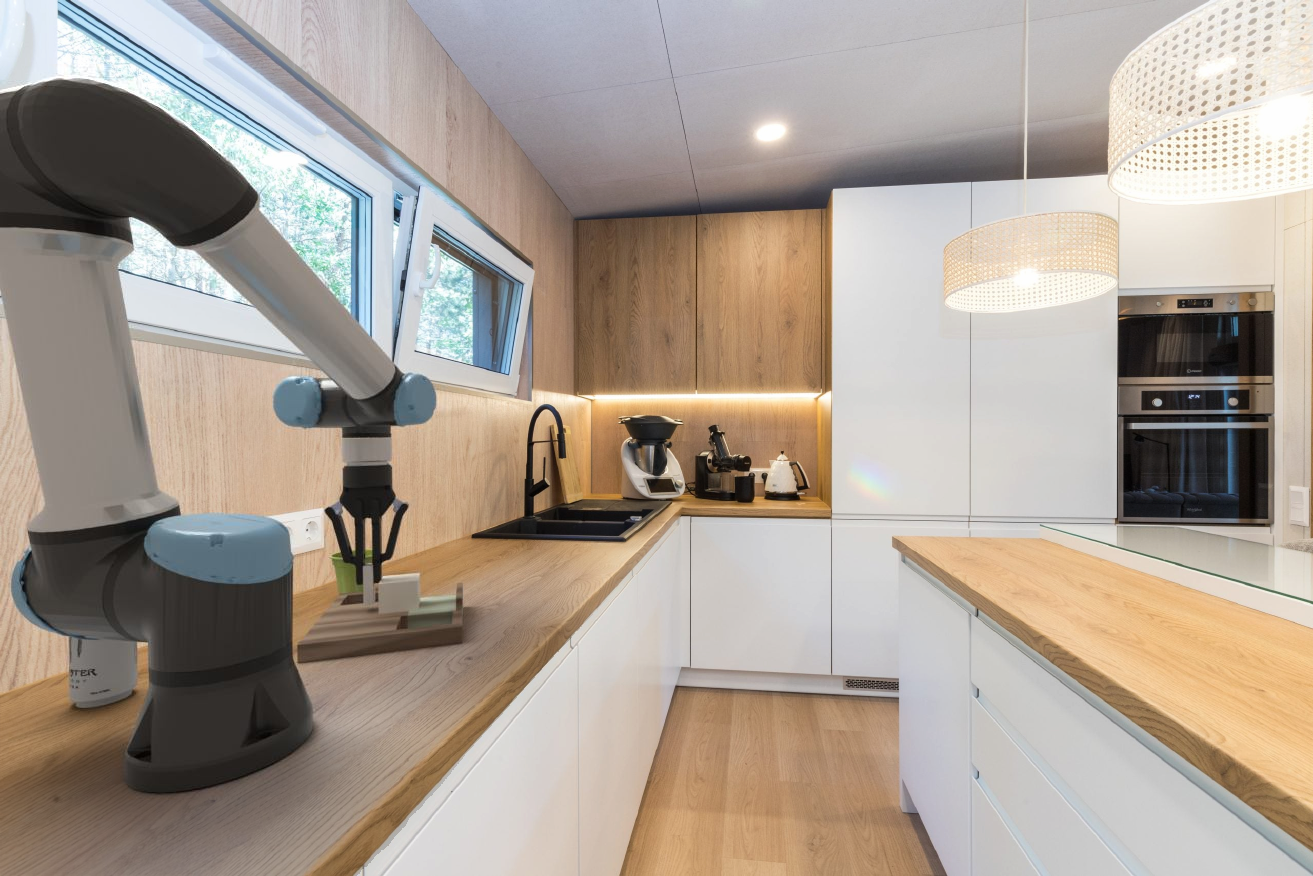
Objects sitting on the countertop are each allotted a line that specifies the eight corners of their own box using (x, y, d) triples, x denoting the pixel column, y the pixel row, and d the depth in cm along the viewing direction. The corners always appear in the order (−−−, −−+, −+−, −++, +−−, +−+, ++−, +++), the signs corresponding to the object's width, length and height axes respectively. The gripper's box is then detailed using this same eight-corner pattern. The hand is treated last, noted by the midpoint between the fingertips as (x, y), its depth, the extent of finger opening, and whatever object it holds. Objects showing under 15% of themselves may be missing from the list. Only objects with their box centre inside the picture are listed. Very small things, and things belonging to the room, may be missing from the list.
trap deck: (462, 642, 87) (461, 613, 87) (297, 662, 80) (297, 630, 80) (463, 594, 115) (463, 572, 115) (340, 606, 108) (340, 582, 108)
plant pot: (374, 587, 122) (373, 547, 122) (388, 595, 115) (388, 552, 115) (325, 596, 116) (324, 553, 116) (337, 605, 109) (336, 560, 109)
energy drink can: (59, 705, 68) (57, 580, 68) (122, 684, 74) (121, 569, 74) (84, 714, 66) (82, 584, 66) (148, 692, 71) (146, 572, 71)
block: (417, 610, 96) (417, 580, 96) (378, 614, 94) (378, 584, 94) (420, 600, 102) (419, 572, 102) (383, 604, 100) (382, 576, 100)
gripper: (411, 461, 102) (412, 593, 102) (329, 463, 98) (330, 601, 98) (407, 463, 95) (409, 604, 95) (318, 465, 91) (320, 613, 91)
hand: (369, 602), depth 96 cm, fingers closed
